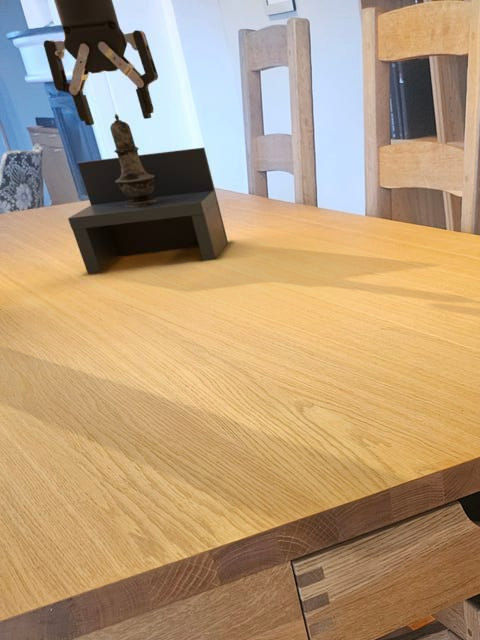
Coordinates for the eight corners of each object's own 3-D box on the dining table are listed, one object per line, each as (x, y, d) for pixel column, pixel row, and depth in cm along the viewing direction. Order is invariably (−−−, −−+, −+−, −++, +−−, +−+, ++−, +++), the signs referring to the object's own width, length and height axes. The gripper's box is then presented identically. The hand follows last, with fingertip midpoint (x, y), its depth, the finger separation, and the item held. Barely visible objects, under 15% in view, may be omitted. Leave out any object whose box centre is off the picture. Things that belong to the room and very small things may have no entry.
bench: (87, 274, 129) (51, 172, 121) (110, 256, 140) (79, 162, 132) (215, 259, 130) (189, 156, 121) (228, 242, 141) (204, 147, 133)
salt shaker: (153, 199, 133) (127, 111, 126) (167, 201, 129) (142, 110, 122) (117, 206, 130) (89, 116, 123) (131, 208, 126) (103, 116, 119)
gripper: (136, -21, 117) (171, 114, 126) (34, -10, 116) (77, 125, 126) (123, -25, 111) (161, 118, 120) (16, -13, 110) (63, 129, 120)
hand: (118, 121), depth 123 cm, fingers open, 8 cm apart
